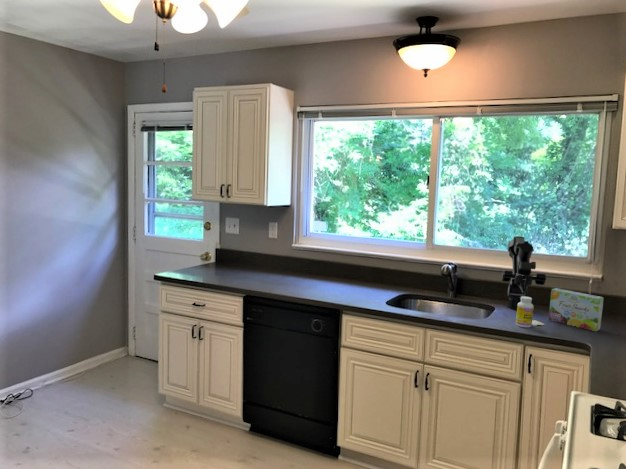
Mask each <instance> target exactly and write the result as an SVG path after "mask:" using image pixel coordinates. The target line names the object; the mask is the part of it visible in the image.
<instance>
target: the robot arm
mask: <svg viewBox="0 0 626 469" xmlns="http://www.w3.org/2000/svg"><path fill="white" fill-rule="evenodd" d="M534 251H535V249H534V246H533V244H531V243H530V242H529V241H528V240H527V241H526V240H525V237H524V236H518V235H517V236H513V238H512V239H511V240H510V241H509V242H508V244H507V252H508V255H509V257H510V258H511V260H512V270H505V269H504V270H503V271H502V274H501V282H504V283H505V282H507V283H509V284H508V287H507V296H508V301H507V305H506V307H507V308H509V309H512V310H517V306H518V303H519V302H521V297H522V296H526V297H528V292H529V288H528V287H529V286H531V285H532V284H533V281H534V283H535V284H536V285H538V286H539V285H540V286H543V285H545V283H546V280H547V274H546V273H540V272H536V275H533V274H532V270H536V267H537V263H536V261H531V262H530V260H531V257H532V254H533V253H534ZM531 274H532V275H531Z"/></svg>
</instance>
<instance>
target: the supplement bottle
mask: <svg viewBox="0 0 626 469" xmlns="http://www.w3.org/2000/svg"><path fill="white" fill-rule="evenodd" d="M532 300H533V298H532V297H530V296H527V297H526V296H522V297H521V302H519V303H518V306H517V309H516V315H515V316H516V318H515V325H516V326H517V327H520V328H525V329H526V328H531V327H532V320H533V318H534V317H533V316H534V308H535V307H534V304H533V303H532Z"/></svg>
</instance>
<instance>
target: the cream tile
mask: <svg viewBox="0 0 626 469" xmlns="http://www.w3.org/2000/svg"><path fill="white" fill-rule="evenodd" d="M532 325H533V327H537V325H541V326H546V325H545V323H543V322H540V321H538V320H535V319H534V320H533V319H532Z"/></svg>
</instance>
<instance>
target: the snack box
mask: <svg viewBox="0 0 626 469" xmlns="http://www.w3.org/2000/svg"><path fill="white" fill-rule="evenodd" d="M603 308H604V297H603V296H598V295H593V294H588V293H583V292H578V291H573V290H568V289H563V288H558V287H554V288H551V292H550V301H549V310H548V322H549V321H550V322H554V321H555V322H556V323H558V322H559V324H562V323H563V324H562V325H566V324H567V326H570V325H572V327H574V326H576V327H575V328H579V327H580V328H579V329H583V328H584V329H583V330H587V329H588V331H591V330H592V331H591V332H596V333H597V332H598V331H600V330H601V325H602V324H601V323H602V315H603Z"/></svg>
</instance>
